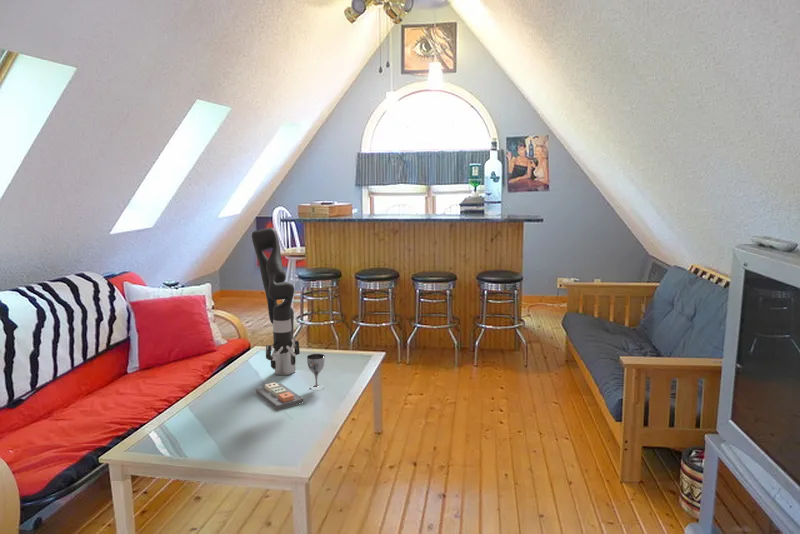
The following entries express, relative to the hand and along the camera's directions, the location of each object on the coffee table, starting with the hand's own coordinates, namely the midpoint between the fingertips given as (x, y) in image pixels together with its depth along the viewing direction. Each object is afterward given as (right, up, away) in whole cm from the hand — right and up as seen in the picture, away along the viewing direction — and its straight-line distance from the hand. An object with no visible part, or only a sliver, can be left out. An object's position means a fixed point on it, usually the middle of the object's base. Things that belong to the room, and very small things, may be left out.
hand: (283, 366), depth 234 cm
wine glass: (+11, -14, +21) cm, 27 cm away
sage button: (-3, -14, +8) cm, 16 cm away
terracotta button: (+1, -15, +3) cm, 15 cm away
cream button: (-8, -13, +14) cm, 20 cm away
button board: (-3, -15, +8) cm, 18 cm away
